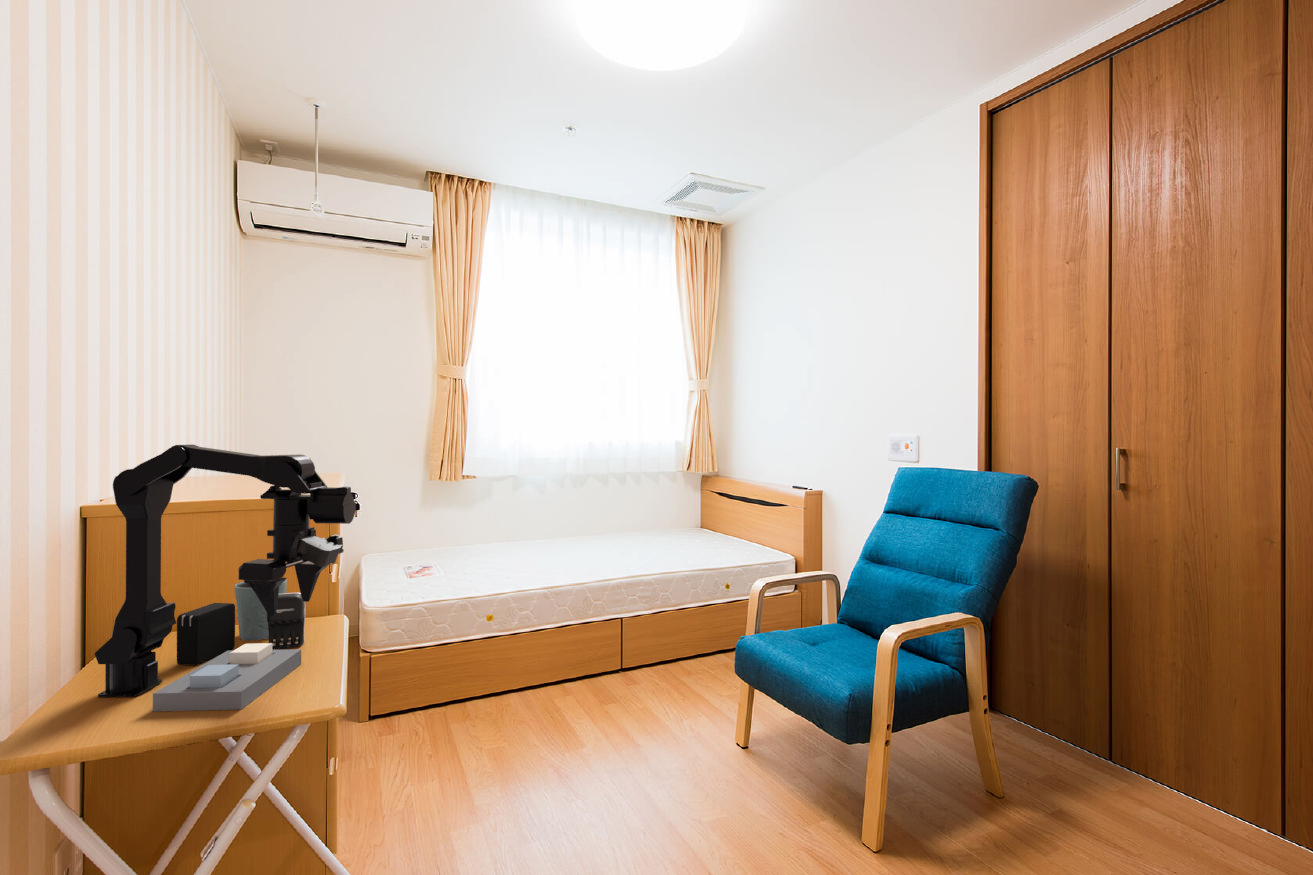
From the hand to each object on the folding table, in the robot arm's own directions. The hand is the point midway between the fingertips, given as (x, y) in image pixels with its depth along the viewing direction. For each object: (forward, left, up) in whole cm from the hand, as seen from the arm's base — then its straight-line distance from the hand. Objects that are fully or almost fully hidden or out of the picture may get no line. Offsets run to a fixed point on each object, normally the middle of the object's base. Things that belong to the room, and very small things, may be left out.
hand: (289, 608), depth 112 cm
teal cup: (-21, +29, -14) cm, 39 cm away
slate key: (-10, -5, -11) cm, 16 cm away
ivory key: (-10, +6, -12) cm, 16 cm away
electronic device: (-24, +15, -14) cm, 32 cm away
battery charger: (-11, +20, -14) cm, 27 cm away
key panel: (-10, 0, -14) cm, 17 cm away
